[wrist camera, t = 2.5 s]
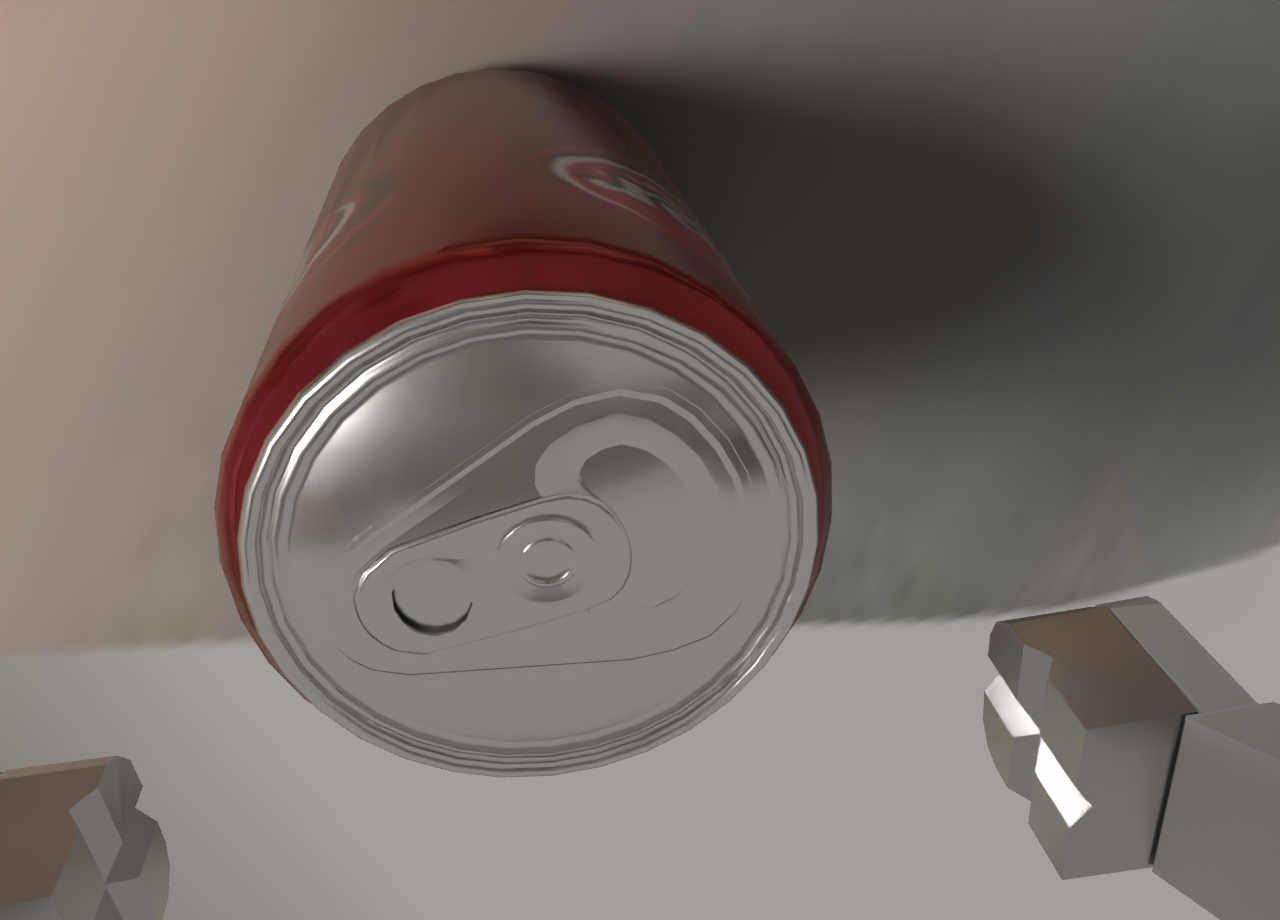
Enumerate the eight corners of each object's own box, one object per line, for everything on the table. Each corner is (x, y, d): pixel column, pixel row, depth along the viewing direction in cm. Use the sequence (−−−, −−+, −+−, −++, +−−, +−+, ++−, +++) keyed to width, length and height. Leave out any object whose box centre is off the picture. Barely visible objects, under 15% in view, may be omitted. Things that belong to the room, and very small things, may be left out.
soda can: (638, 24, 21) (811, 182, 10) (700, 357, 25) (875, 720, 14) (272, 110, 21) (80, 357, 10) (389, 433, 24) (335, 858, 14)
